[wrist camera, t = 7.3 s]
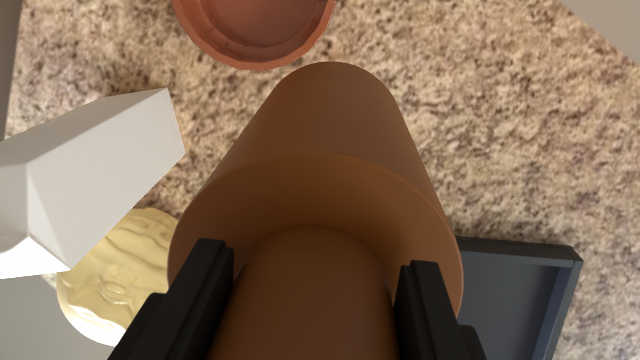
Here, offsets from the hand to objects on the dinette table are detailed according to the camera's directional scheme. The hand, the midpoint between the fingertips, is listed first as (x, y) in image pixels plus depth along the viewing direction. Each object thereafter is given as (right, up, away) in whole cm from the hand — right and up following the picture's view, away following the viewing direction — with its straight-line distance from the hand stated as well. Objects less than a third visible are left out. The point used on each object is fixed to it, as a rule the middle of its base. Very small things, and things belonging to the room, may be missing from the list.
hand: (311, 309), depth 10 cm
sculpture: (-16, -3, +35) cm, 39 cm away
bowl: (-4, +18, +26) cm, 31 cm away
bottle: (+1, +5, +13) cm, 14 cm away
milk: (-15, +8, +30) cm, 35 cm away
